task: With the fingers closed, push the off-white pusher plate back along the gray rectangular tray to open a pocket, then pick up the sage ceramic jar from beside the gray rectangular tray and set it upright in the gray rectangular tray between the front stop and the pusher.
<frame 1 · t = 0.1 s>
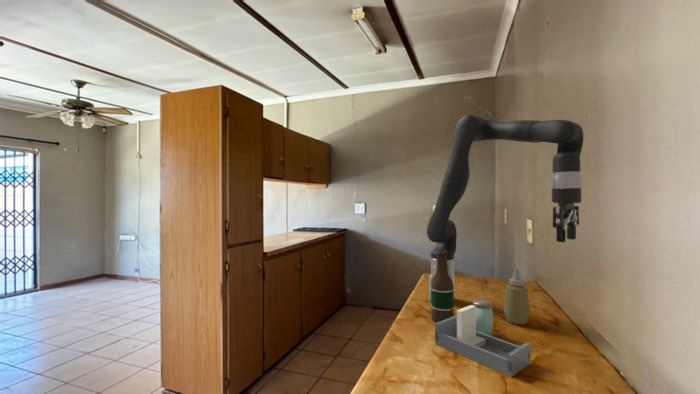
hand: (566, 240, 99), 29 cm above the countertop, fingers open, 8 cm apart
jar: (482, 334, 101), on the countertop
pusher: (471, 327, 91), point 6 cm above the countertop, slide at 0.0 cm
squeeze bottle: (516, 322, 111), on the countertop
gray rectangular tray: (479, 353, 89), on the countertop
beer bottle: (442, 320, 113), on the countertop
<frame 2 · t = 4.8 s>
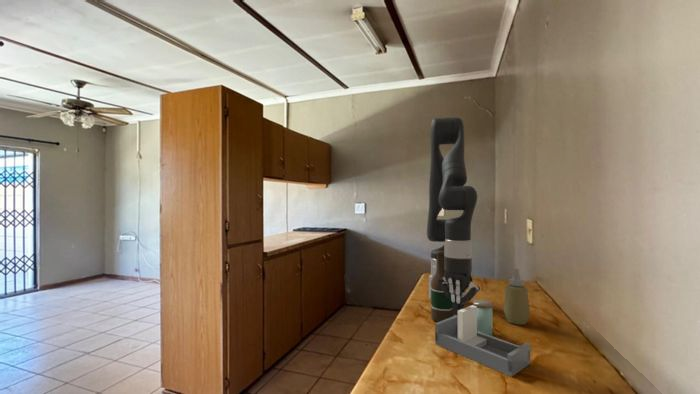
hand: (458, 314, 94), 9 cm above the countertop, fingers closed
pusher: (472, 327, 91), point 6 cm above the countertop, slide at 0.3 cm, touching gripper
everything else where it was.
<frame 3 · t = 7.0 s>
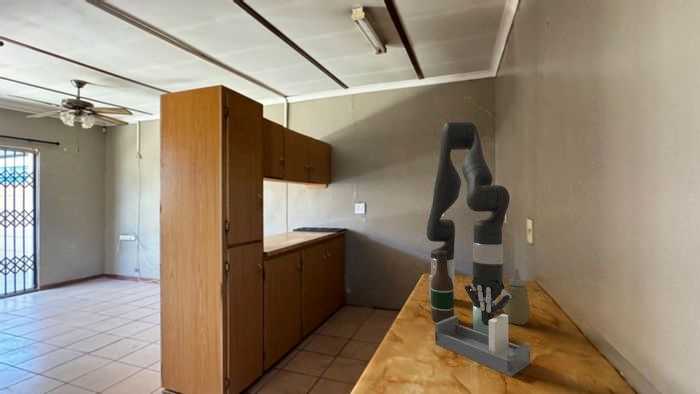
hand: (487, 324, 87), 9 cm above the countertop, fingers closed
pusher: (504, 339, 84), point 6 cm above the countertop, slide at 9.3 cm, touching gripper
everything else where it was.
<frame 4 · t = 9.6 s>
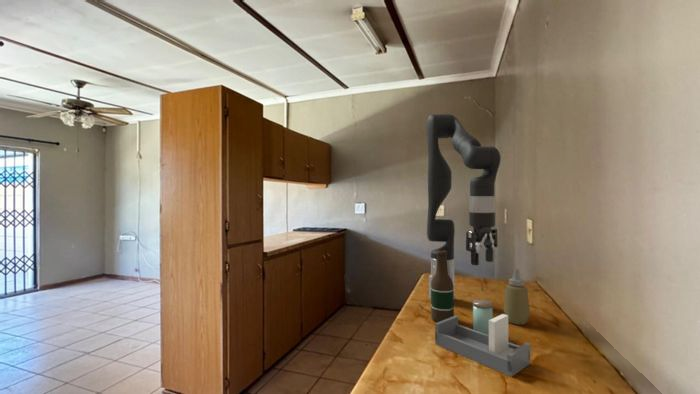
hand: (482, 263, 101), 22 cm above the countertop, fingers open, 8 cm apart
pusher: (504, 339, 84), point 6 cm above the countertop, slide at 9.3 cm
everything else where it was.
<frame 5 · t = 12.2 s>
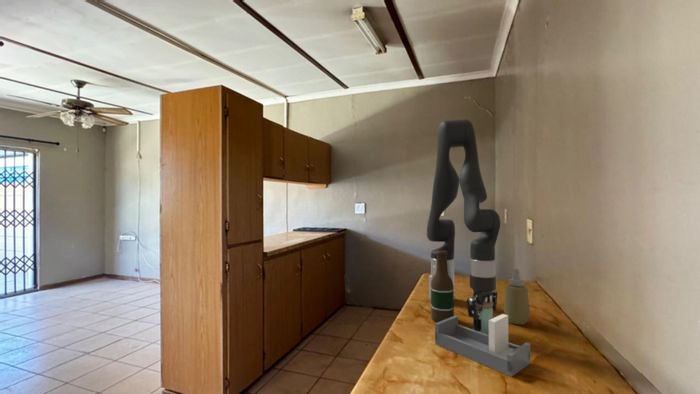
hand: (482, 327, 101), 2 cm above the countertop, fingers closed on jar, 5 cm apart
jar: (482, 334, 101), on the countertop, touching gripper
everything else where it was.
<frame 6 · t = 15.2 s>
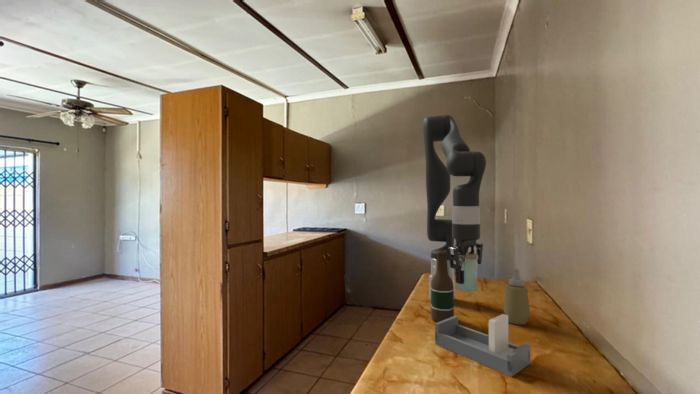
hand: (466, 281, 92), 19 cm above the countertop, fingers closed on jar, 5 cm apart
jar: (466, 288, 92), point 17 cm above the countertop, touching gripper
everything else where it was.
when the fingers open (4 cm above the countertop, at t = 18.2 s): jar drops 1 cm, resting on gray rectangular tray.
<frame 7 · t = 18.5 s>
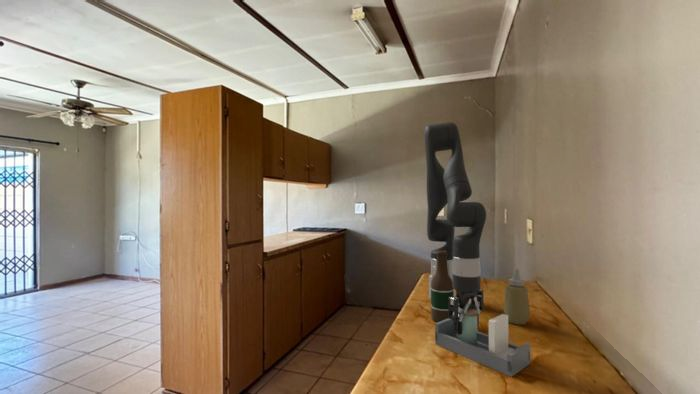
hand: (466, 329, 92), 5 cm above the countertop, fingers open, 8 cm apart
jar: (466, 344, 92), point 1 cm above the countertop, touching gray rectangular tray
everything else where it was.
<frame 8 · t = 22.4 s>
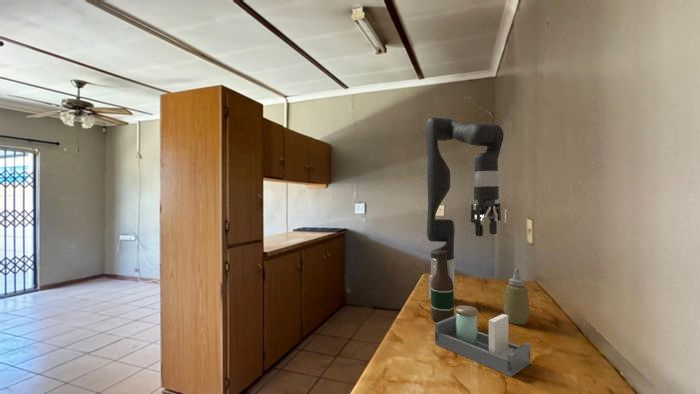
hand: (486, 235, 106), 30 cm above the countertop, fingers open, 8 cm apart
nothing on the countertop moved.
at the end: jar inside the target area on the gray rectangular tray (1.3 cm from its centre), point 1.0 cm above the gray rectangular tray's base; jar tilted 0°; pusher slide at 9.3 cm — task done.
